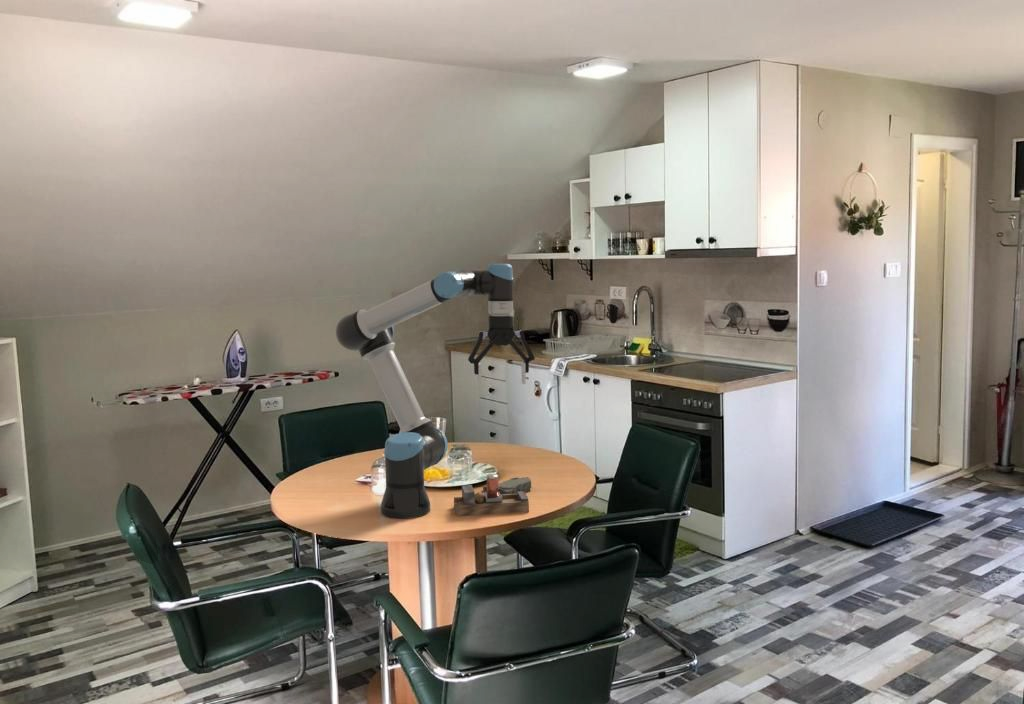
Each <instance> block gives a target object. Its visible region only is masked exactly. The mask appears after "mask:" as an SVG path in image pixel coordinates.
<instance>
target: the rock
mask: <svg viewBox="0 0 1024 704" xmlns="http://www.w3.org/2000/svg"><path fill="white" fill-rule="evenodd" d="M498 486H499V492H500V494H501V495H502V494H517V492H521V491H524V493H527V492H531V488H532V480H531V478H530V477H528V476H527V477H511V478H509V479H508V480H505V481H504V480H503V481H502V482H498ZM482 489H483V491H484V493H485V492H487V484H486V485H483V487H482Z"/></svg>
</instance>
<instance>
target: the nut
mask: <svg viewBox="0 0 1024 704" xmlns="http://www.w3.org/2000/svg"><path fill="white" fill-rule="evenodd" d="M484 500H485V496H484V494H483V492H480V491H479V492H476V493H475V503H476V504H482V503H483V502H484Z"/></svg>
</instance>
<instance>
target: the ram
mask: <svg viewBox="0 0 1024 704" xmlns="http://www.w3.org/2000/svg"><path fill="white" fill-rule="evenodd" d="M498 483H499V474H497V473H488V474H486V485H487V492H485V491H484V492H482V494H484V496H485V500H484V502H485V503H502V502H503V501H502V496H501V494H500V492H499V486H498Z"/></svg>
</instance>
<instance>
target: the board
mask: <svg viewBox="0 0 1024 704" xmlns="http://www.w3.org/2000/svg"><path fill="white" fill-rule="evenodd" d="M501 496H502V501H503V502H502V503H485V502H483V503H482V504H476V503H475V490H474V488H473V485H472V484H466V485H465V484H464V485H461V496H453V508H454V511H455V515H456V517H468V516H469V517H470V516H471V517H472V516H485V515H501V514H519V513H521V512H522V513H530V505H529V504H530V503H529V502H530V501H529V497H528V496H527V494H526V492H524V491H521V492H517V494H502V495H501ZM522 513H521V514H522Z"/></svg>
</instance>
